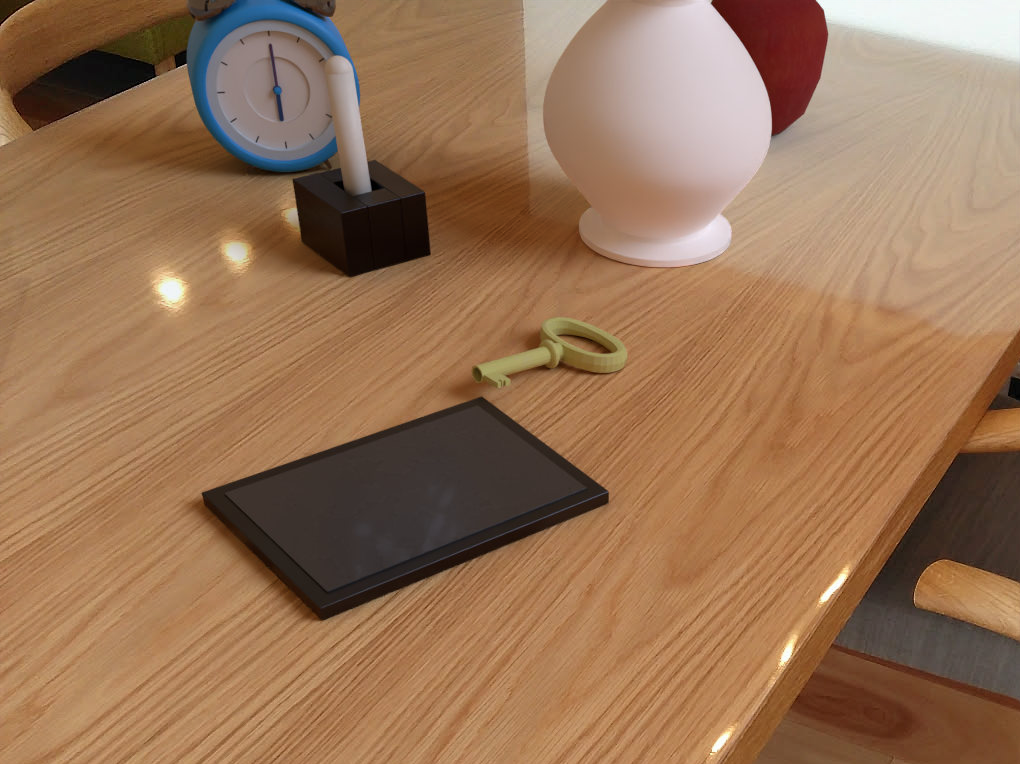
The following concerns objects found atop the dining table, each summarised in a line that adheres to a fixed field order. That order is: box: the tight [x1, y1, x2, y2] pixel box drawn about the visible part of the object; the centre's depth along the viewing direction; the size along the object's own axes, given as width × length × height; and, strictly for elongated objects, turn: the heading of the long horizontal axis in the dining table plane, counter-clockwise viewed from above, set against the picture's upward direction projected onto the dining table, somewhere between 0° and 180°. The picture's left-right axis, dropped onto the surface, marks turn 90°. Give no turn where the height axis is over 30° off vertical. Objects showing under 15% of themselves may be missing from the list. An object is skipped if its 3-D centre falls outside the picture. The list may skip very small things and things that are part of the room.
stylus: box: [325, 56, 372, 197], centre depth 109 cm, size 2×2×14 cm
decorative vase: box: [542, 0, 772, 268], centre depth 111 cm, size 18×18×25 cm
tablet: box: [201, 396, 610, 621], centre depth 89 cm, size 20×14×1 cm
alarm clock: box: [185, 0, 361, 176], centre depth 119 cm, size 13×6×15 cm, turn 110°
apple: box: [710, 0, 829, 136], centre depth 133 cm, size 12×12×13 cm
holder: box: [291, 159, 432, 278], centre depth 112 cm, size 7×7×5 cm
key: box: [471, 316, 628, 390], centre depth 101 cm, size 7×12×2 cm, turn 155°
